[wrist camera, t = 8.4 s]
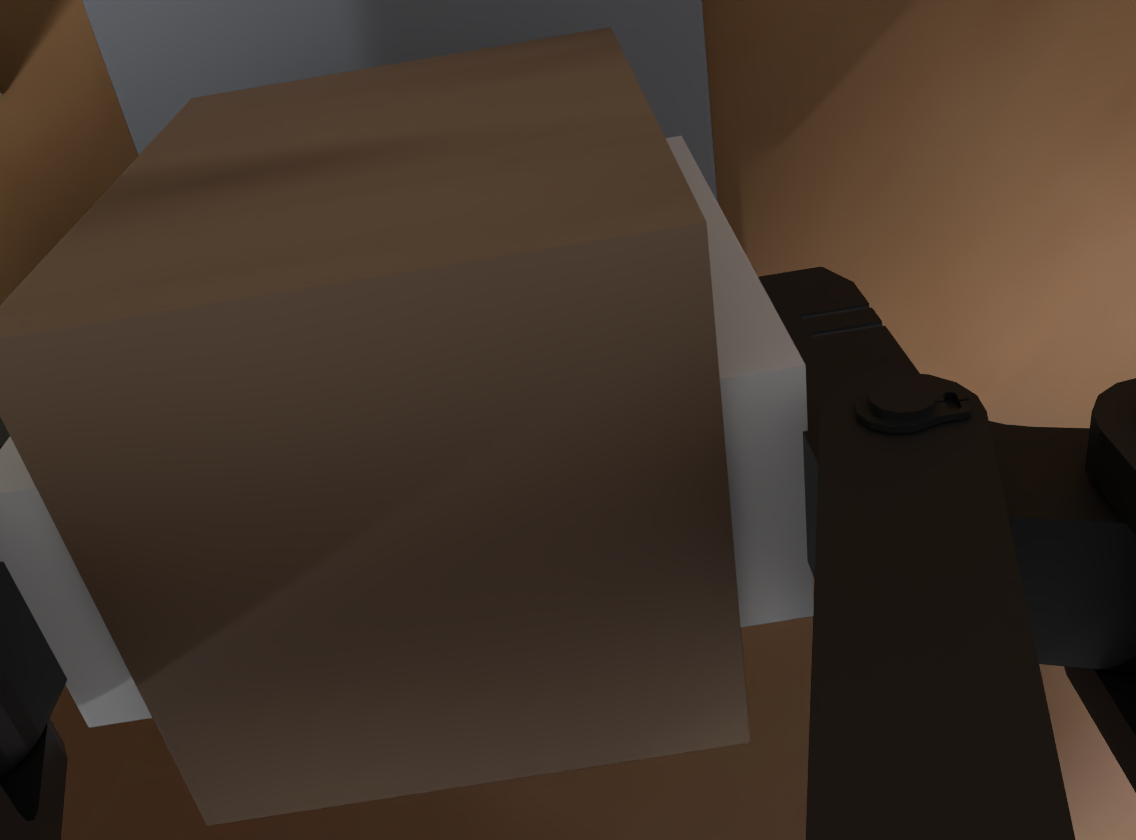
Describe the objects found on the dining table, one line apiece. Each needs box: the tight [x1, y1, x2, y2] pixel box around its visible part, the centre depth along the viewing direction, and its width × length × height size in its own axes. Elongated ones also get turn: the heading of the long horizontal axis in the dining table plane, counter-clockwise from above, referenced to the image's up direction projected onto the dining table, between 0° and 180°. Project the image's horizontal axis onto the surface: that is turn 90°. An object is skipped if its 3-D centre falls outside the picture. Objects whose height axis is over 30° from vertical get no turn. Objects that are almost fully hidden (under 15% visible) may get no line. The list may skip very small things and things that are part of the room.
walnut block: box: [0, 27, 750, 826], centre depth 12 cm, size 6×6×7 cm
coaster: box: [82, 0, 717, 200], centre depth 18 cm, size 9×9×1 cm
